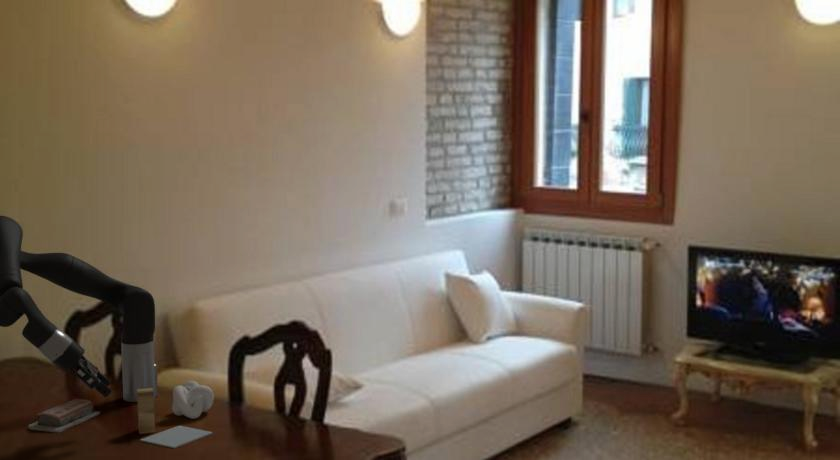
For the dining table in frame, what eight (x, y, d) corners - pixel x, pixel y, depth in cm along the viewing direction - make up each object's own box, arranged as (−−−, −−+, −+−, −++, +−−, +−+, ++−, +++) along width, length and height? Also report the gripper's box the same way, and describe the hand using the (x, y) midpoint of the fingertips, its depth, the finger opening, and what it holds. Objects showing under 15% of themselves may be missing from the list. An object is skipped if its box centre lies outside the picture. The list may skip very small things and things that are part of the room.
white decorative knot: (159, 415, 283) (158, 384, 283) (195, 406, 292) (194, 376, 291) (182, 423, 276) (181, 391, 275) (219, 414, 285) (218, 382, 284)
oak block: (138, 429, 270) (137, 389, 269) (153, 428, 272) (152, 388, 270) (139, 433, 266) (137, 393, 265) (155, 432, 268) (153, 391, 267)
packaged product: (70, 396, 288) (99, 399, 284) (70, 412, 288) (100, 415, 285) (26, 413, 271) (58, 416, 267) (27, 431, 271) (58, 434, 268)
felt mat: (179, 426, 272) (179, 425, 272) (212, 433, 266) (212, 432, 266) (140, 441, 260) (140, 439, 260) (174, 448, 254) (174, 446, 254)
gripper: (50, 353, 266) (97, 393, 271) (49, 367, 252) (98, 408, 257) (71, 333, 267) (117, 372, 272) (71, 345, 253) (119, 386, 258)
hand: (108, 389), depth 265 cm, fingers open, 8 cm apart
